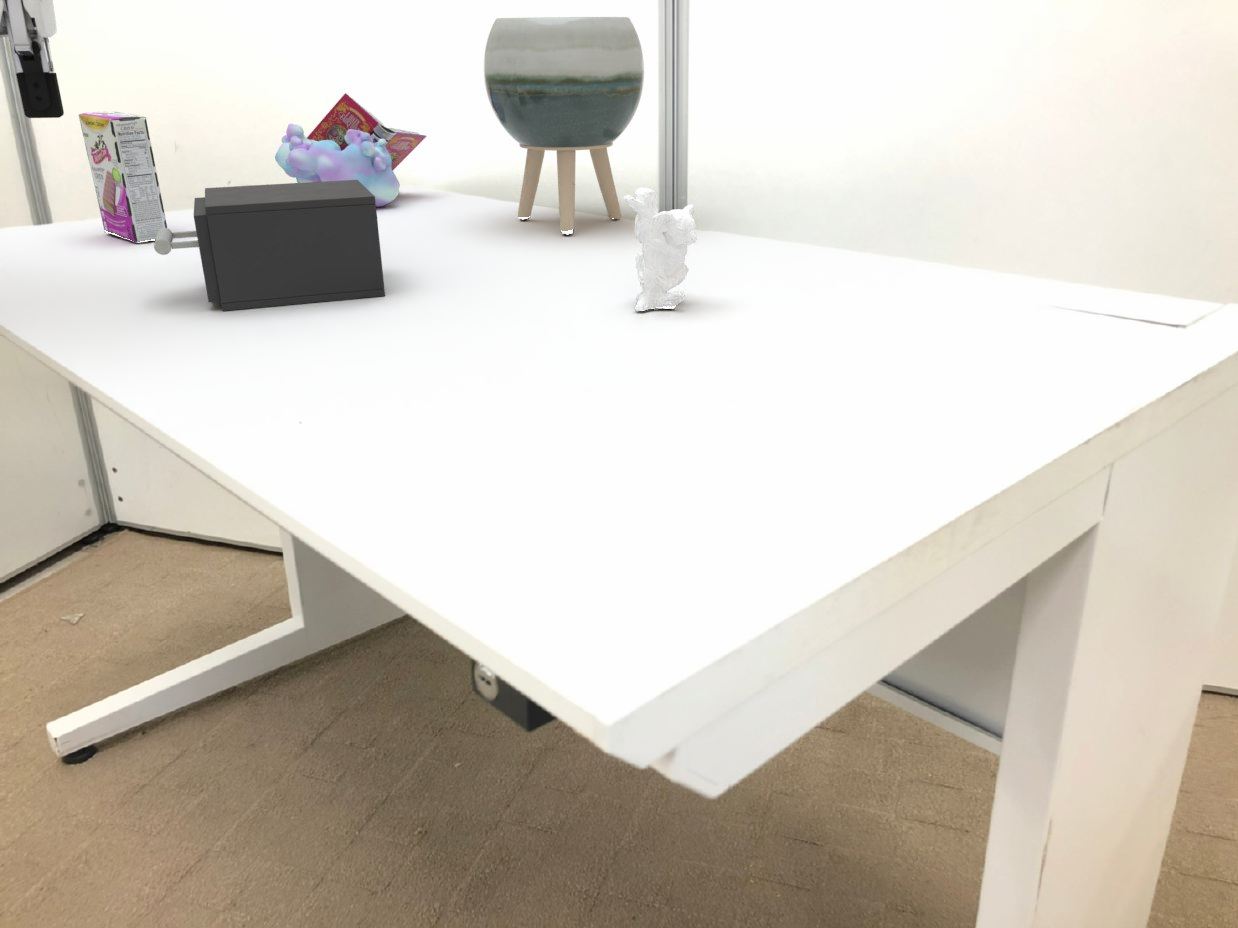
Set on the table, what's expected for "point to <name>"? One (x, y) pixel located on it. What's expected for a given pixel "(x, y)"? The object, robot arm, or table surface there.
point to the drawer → (203, 242)
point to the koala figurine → (660, 249)
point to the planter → (564, 96)
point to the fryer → (294, 243)
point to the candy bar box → (124, 174)
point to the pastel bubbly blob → (348, 150)
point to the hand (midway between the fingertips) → (45, 116)
